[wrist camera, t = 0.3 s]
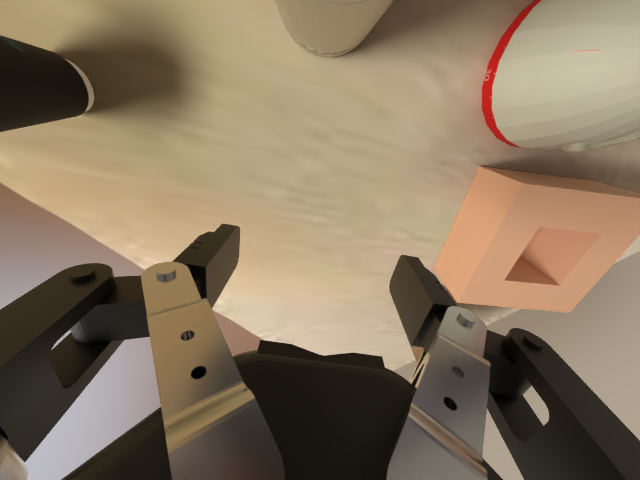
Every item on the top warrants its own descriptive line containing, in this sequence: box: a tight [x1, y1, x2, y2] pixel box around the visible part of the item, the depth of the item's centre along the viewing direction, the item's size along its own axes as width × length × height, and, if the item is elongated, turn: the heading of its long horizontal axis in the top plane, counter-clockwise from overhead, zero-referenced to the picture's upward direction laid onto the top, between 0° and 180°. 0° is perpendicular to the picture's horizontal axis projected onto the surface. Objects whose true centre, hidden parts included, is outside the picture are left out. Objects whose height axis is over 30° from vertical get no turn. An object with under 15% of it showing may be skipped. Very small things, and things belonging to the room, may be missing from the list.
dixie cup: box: [0, 35, 94, 132], centre depth 19 cm, size 8×8×11 cm
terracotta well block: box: [433, 166, 640, 313], centre depth 29 cm, size 15×15×7 cm
